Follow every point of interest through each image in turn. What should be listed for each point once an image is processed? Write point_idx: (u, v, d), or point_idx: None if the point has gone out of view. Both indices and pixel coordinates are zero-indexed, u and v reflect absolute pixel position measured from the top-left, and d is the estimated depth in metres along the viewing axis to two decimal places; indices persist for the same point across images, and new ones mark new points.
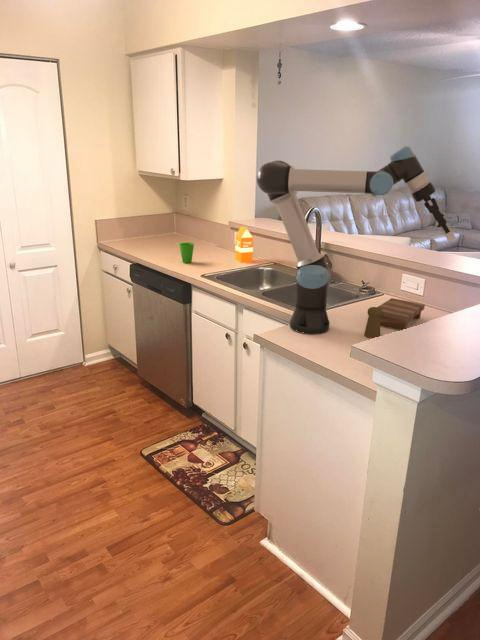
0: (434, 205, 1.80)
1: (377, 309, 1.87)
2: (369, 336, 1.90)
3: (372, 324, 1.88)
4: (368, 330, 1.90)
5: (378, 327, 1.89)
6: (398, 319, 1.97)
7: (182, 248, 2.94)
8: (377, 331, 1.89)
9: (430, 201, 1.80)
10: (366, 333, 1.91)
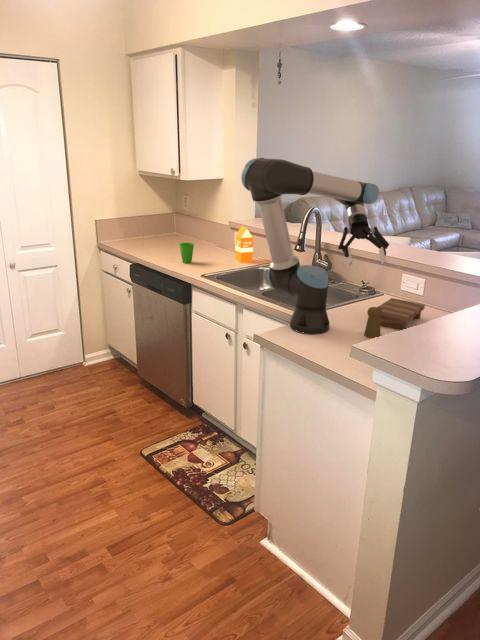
0: None
1: (377, 309, 1.87)
2: (369, 336, 1.90)
3: (372, 324, 1.88)
4: (368, 330, 1.90)
5: (378, 327, 1.89)
6: (398, 319, 1.97)
7: (182, 248, 2.94)
8: (377, 331, 1.89)
9: None
10: (366, 333, 1.91)
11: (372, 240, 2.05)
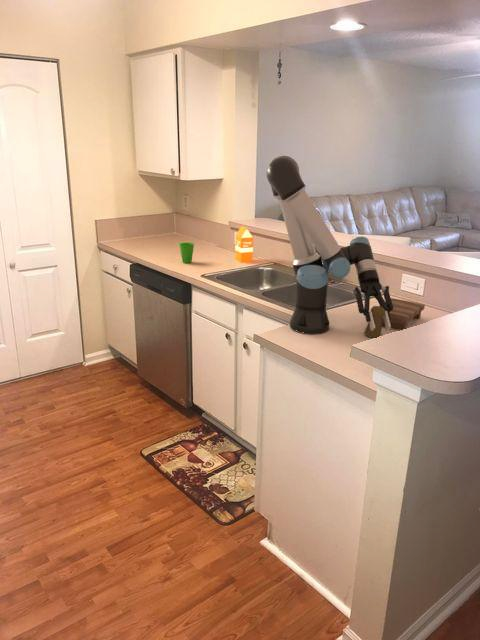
0: None
1: (381, 308, 1.87)
2: (369, 334, 1.89)
3: (374, 322, 1.88)
4: (369, 328, 1.90)
5: (379, 326, 1.89)
6: (398, 319, 1.97)
7: (182, 248, 2.94)
8: (378, 330, 1.89)
9: None
10: (367, 331, 1.90)
11: (379, 300, 1.92)
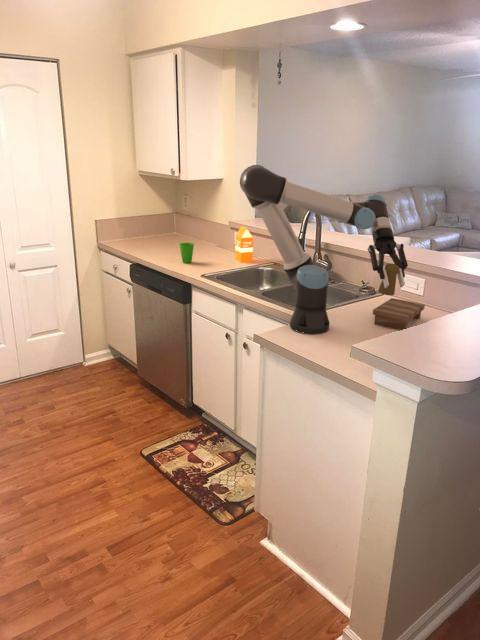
0: None
1: (395, 266, 1.87)
2: (383, 292, 1.89)
3: None
4: (382, 286, 1.89)
5: (393, 284, 1.88)
6: (398, 319, 1.97)
7: (182, 248, 2.94)
8: (392, 288, 1.89)
9: None
10: (380, 289, 1.90)
11: (393, 257, 1.92)
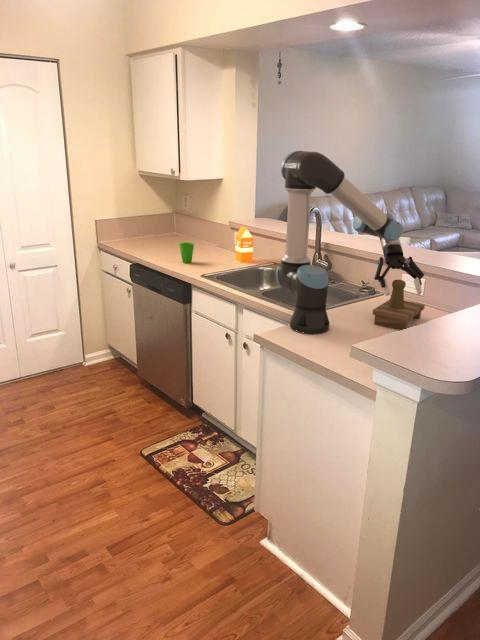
0: None
1: (401, 281, 2.01)
2: (393, 307, 2.04)
3: (396, 295, 2.02)
4: (392, 301, 2.04)
5: (402, 298, 2.03)
6: (398, 319, 1.97)
7: (182, 248, 2.94)
8: (401, 302, 2.03)
9: None
10: (390, 304, 2.05)
11: (407, 270, 2.07)
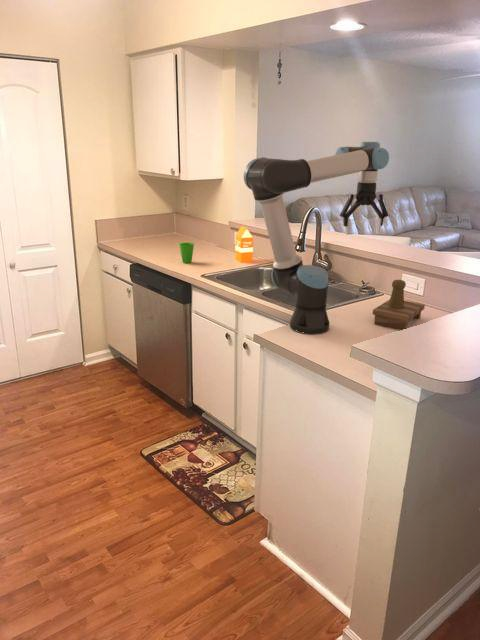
0: None
1: (401, 281, 2.01)
2: (393, 307, 2.04)
3: (396, 295, 2.02)
4: (392, 301, 2.04)
5: (402, 298, 2.03)
6: (398, 319, 1.97)
7: (182, 248, 2.94)
8: (401, 302, 2.03)
9: None
10: (390, 304, 2.05)
11: (374, 208, 2.13)
